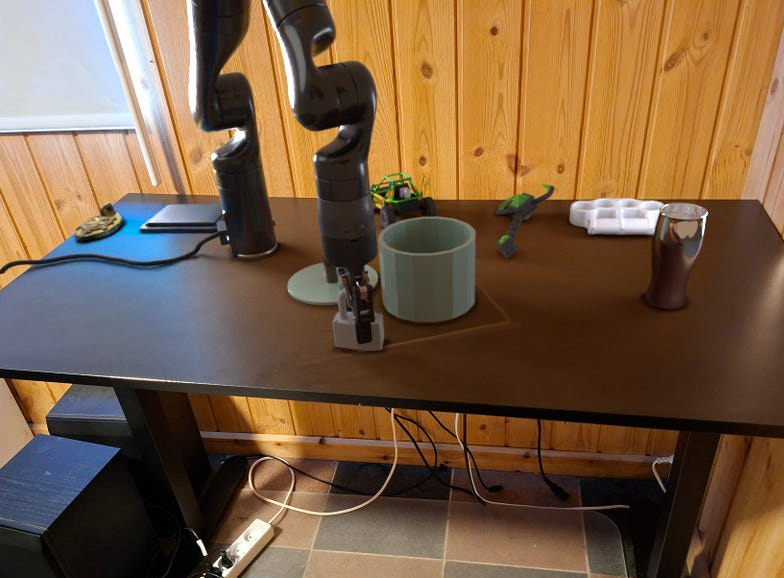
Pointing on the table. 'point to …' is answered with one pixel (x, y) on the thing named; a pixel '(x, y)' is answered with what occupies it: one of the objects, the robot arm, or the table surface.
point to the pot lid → (320, 284)
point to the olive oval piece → (100, 224)
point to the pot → (427, 268)
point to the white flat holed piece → (616, 216)
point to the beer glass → (674, 253)
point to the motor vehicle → (400, 199)
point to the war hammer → (519, 216)
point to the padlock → (346, 329)
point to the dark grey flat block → (185, 218)
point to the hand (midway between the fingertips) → (358, 329)
